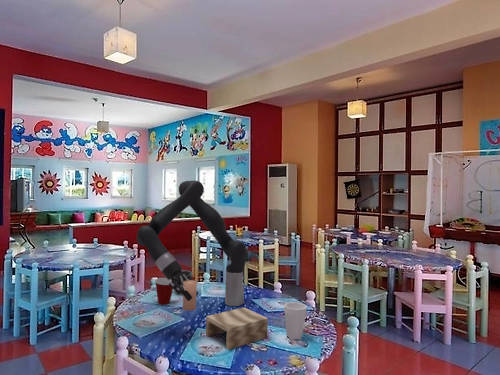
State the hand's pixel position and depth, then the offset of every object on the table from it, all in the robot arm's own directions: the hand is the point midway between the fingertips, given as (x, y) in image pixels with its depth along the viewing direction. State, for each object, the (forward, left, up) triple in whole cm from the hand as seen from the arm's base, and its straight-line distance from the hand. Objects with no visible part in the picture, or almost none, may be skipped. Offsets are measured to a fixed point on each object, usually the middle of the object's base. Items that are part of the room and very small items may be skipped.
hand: (193, 297), depth 147 cm
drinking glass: (-25, -53, -16) cm, 61 cm away
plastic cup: (-9, -43, -16) cm, 47 cm away
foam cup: (-35, +25, -16) cm, 46 cm away
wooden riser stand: (-15, +11, -16) cm, 24 cm away
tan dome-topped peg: (+1, -1, -5) cm, 5 cm away
